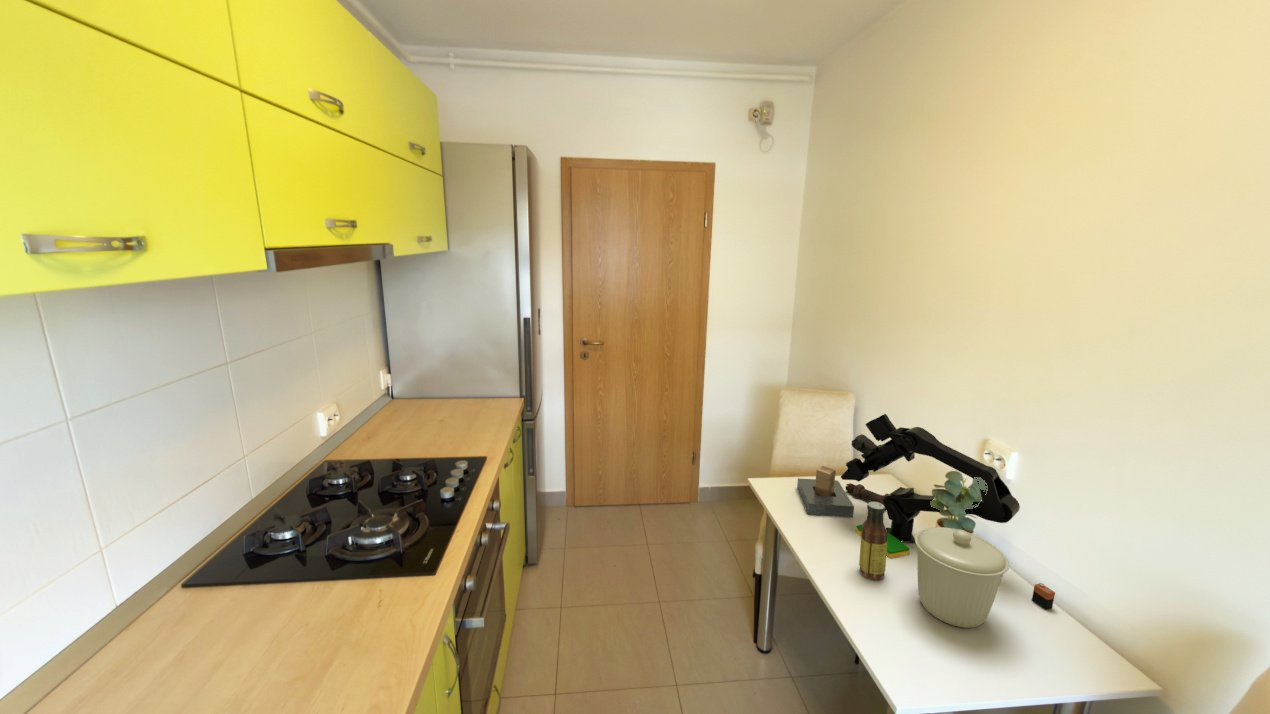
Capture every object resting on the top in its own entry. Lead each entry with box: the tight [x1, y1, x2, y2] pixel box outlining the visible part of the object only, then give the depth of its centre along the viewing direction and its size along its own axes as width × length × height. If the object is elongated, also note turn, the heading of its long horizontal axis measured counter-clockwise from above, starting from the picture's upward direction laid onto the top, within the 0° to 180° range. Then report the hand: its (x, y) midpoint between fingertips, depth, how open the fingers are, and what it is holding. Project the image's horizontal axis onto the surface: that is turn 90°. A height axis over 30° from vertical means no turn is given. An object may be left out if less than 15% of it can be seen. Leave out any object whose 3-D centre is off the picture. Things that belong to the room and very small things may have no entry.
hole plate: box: [796, 477, 855, 519], centre depth 161 cm, size 18×14×4 cm
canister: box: [914, 526, 1010, 629], centre depth 110 cm, size 18×18×21 cm
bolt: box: [845, 482, 890, 512], centre depth 163 cm, size 6×5×15 cm
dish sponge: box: [855, 524, 911, 559], centre depth 139 cm, size 7×14×2 cm, turn 14°
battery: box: [1031, 582, 1056, 610], centre depth 114 cm, size 2×3×5 cm, turn 12°
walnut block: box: [815, 465, 837, 497], centre depth 161 cm, size 4×4×12 cm
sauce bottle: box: [858, 501, 887, 581], centre depth 124 cm, size 7×6×20 cm
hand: (849, 474), depth 153 cm, fingers open, 9 cm apart
